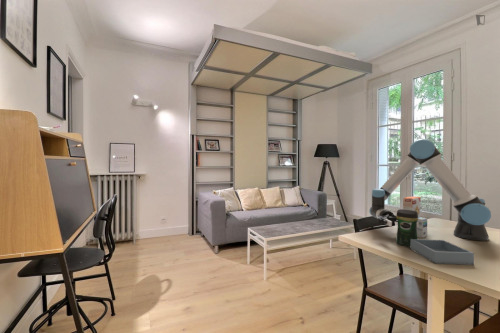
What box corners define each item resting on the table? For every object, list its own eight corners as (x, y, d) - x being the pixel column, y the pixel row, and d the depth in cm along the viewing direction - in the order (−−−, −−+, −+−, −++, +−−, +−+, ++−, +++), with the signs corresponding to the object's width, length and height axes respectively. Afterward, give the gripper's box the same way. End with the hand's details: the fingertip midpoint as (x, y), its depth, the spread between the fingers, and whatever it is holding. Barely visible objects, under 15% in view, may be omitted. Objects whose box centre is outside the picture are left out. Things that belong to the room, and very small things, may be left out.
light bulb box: (427, 235, 141) (427, 217, 141) (423, 237, 137) (423, 219, 137) (407, 231, 150) (408, 214, 150) (402, 233, 146) (403, 215, 146)
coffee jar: (419, 245, 124) (419, 210, 124) (416, 249, 119) (416, 212, 119) (398, 241, 131) (398, 207, 131) (394, 244, 126) (394, 209, 125)
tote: (443, 249, 118) (443, 239, 118) (473, 264, 100) (474, 253, 100) (410, 248, 119) (410, 238, 119) (435, 263, 101) (435, 251, 101)
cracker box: (412, 231, 151) (412, 198, 150) (402, 229, 156) (402, 197, 155) (420, 227, 159) (421, 196, 159) (410, 226, 164) (410, 195, 164)
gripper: (406, 222, 147) (429, 232, 125) (364, 221, 149) (380, 230, 127) (406, 210, 146) (429, 218, 125) (364, 209, 149) (380, 216, 127)
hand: (404, 224), depth 126 cm, fingers open, 13 cm apart
